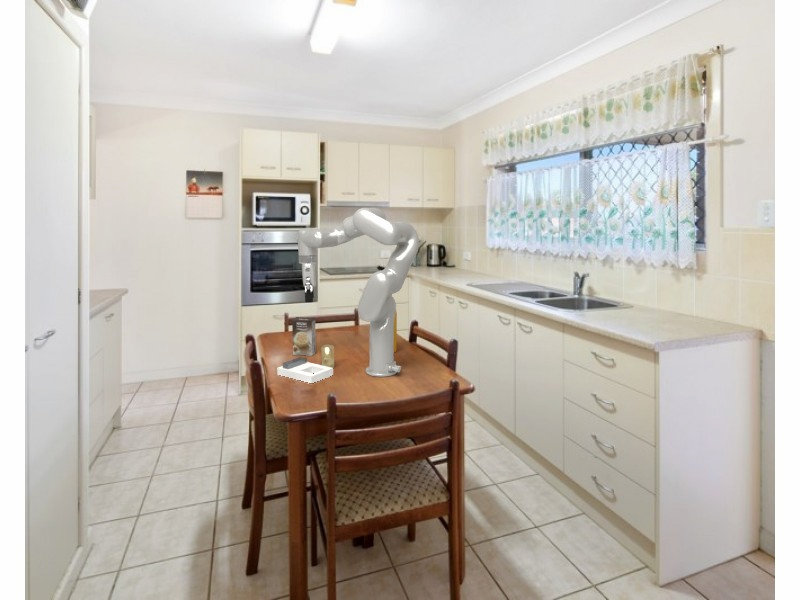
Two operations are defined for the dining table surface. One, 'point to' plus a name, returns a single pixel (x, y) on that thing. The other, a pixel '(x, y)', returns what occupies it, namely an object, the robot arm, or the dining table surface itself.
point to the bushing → (328, 355)
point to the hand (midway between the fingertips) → (309, 300)
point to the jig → (304, 370)
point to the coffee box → (304, 336)
